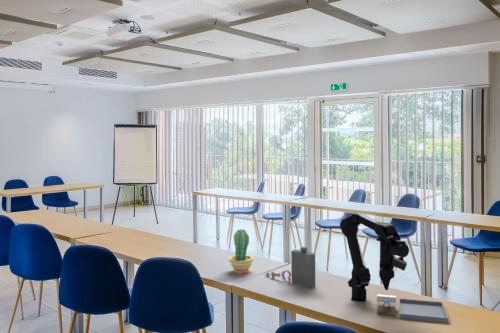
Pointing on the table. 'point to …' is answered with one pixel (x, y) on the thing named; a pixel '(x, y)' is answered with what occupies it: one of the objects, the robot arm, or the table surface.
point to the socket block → (386, 309)
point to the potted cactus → (241, 253)
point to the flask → (303, 267)
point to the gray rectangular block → (386, 299)
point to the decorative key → (280, 275)
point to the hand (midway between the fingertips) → (386, 286)
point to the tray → (422, 310)
